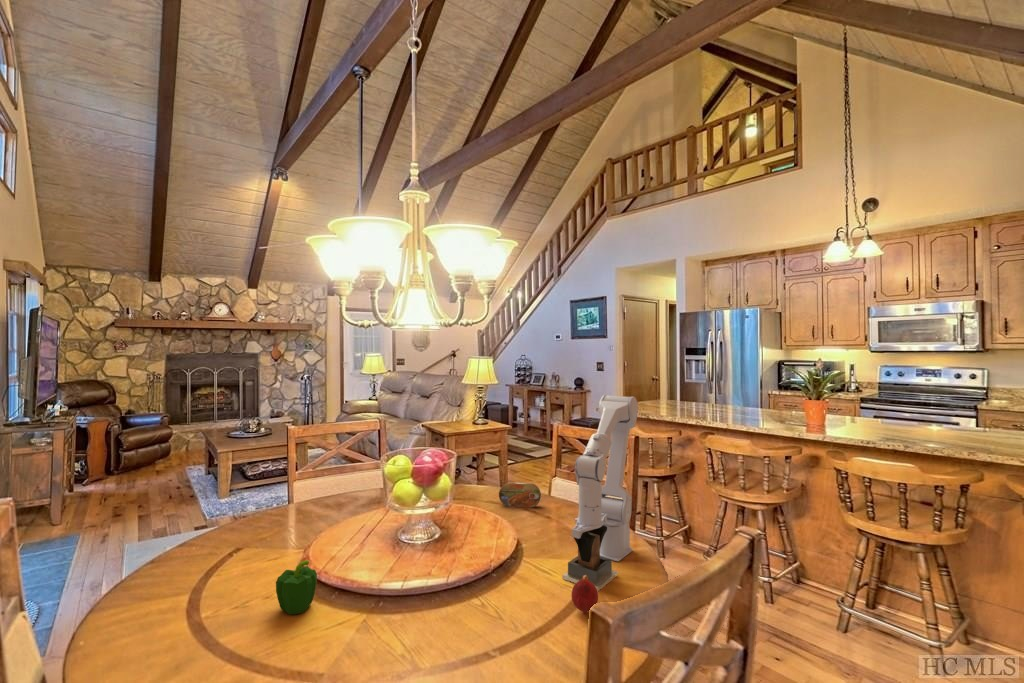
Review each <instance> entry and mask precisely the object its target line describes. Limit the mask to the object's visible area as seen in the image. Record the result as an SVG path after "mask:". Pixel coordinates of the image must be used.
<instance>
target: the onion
mask: <svg viewBox="0 0 1024 683" xmlns="http://www.w3.org/2000/svg"><path fill="white" fill-rule="evenodd" d="M598 592H599V591H597V589H596V587H595V585H594V584H593V583H592V582H591V581H589V580H588V576H586V575H584V576H583V578H582V580H580V581H578V582H577V583H574V585H573V587H572V590H571V600H572V603H573V605H574V606H575V608H576V609H577V610H579V611H580V612H581V613H584V614H587V613H589V612H590V611H591V610H590V608H591V607H592V606H593V605H594V604H596V603H597V604H598V601H599V593H598ZM597 604H596V605H597ZM589 610H590V611H589Z"/></svg>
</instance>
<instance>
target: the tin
mask: <svg viewBox="0 0 1024 683" xmlns="http://www.w3.org/2000/svg"><path fill="white" fill-rule="evenodd" d="M541 497H542V493H541V490H540V488H539V487H538V486H537V485H536V484H535V483H532V482H512V481H511V482H507V483H504V484H503V485H502V486H501V487H500V489H499V491H498V499H499V502H501V503H502V504H503V505H504V506H506V507H509V508H522V509H523V508H524V509H525V508H526V509H527V508H530V509H532V508H535V507H536V506H538V504H540V501H541Z"/></svg>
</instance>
